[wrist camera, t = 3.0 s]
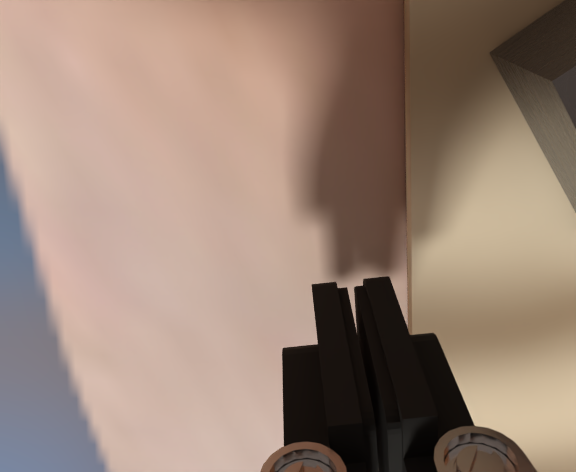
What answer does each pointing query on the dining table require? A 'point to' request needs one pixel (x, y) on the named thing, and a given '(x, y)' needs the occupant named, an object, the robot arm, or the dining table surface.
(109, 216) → the dining table surface
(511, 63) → the tong arm
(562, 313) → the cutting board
